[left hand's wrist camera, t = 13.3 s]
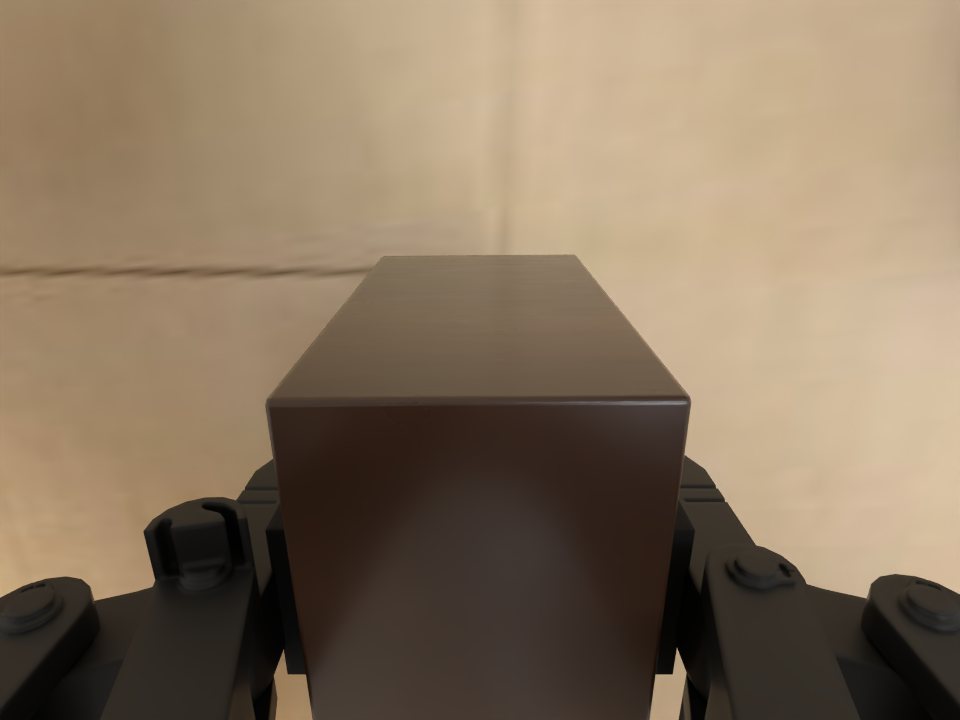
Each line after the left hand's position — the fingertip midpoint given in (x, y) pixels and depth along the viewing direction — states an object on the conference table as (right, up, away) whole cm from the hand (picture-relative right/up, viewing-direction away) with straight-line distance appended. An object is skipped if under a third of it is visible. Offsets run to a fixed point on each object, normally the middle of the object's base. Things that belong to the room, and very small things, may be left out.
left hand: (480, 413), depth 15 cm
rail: (0, -8, +4) cm, 9 cm away
